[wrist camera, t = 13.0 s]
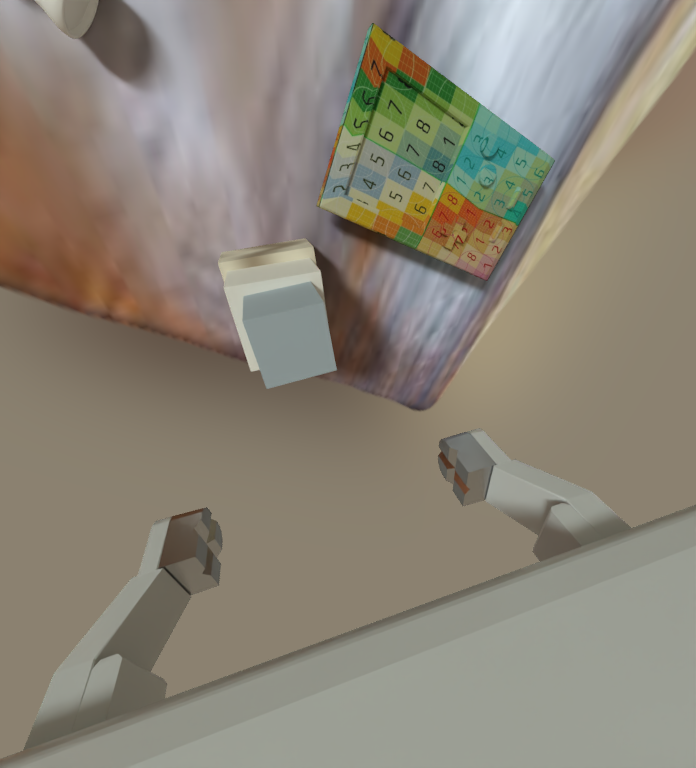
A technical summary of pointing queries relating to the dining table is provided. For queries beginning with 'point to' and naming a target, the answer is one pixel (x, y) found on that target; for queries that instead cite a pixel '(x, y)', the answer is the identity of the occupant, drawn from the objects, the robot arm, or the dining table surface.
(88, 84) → the dining table surface
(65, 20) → the binoculars
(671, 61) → the dining table surface
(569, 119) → the dining table surface
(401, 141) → the puzzle game
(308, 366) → the grey cube
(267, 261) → the birch slab
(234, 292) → the white block
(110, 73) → the dining table surface
